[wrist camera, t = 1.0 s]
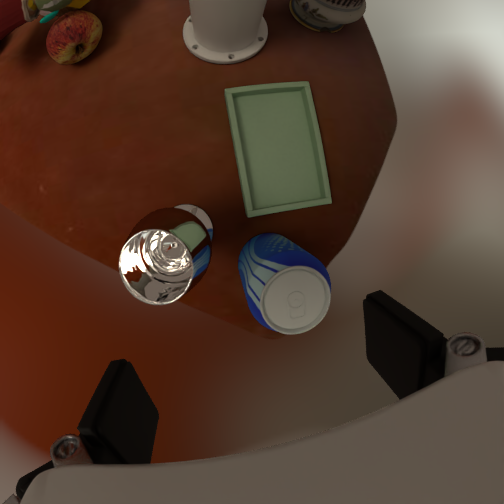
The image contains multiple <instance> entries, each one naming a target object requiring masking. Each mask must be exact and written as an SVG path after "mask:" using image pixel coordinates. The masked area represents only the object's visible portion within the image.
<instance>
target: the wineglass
mask: <svg viewBox="0 0 504 504" xmlns="http://www.w3.org/2000/svg"><path fill="white" fill-rule="evenodd" d="M212 238H213V225H212V222H211V219H210V218H209V216H208V215H207V213H206V212H205V211H204V210H202V209H201V208H199V207H197V206H195V205H190V204H181V205H177V206H175V207H169V208H162V209H157V210H155V211H153V212H151V213H149V214H148V215H146V216H145V217H144V218H142V219H141V220H140V221H139V222H138V223H137V224H136V225H135V227H134V228H133V229H132V231H131V232H130V234H129V236H128V238H127V239H126V241H125V243H124V246H123V248H122V250H121V253H120V257H119V273H120V276H121V279H122V282H123V284H124V286H125V287H126V288H127V290H128V291H129V292H130V293H131V294H132V295H133V296H134V297H136V298H137V299H139V300H140V301H143V302H145V303H147V304H152V305H164V304H169V303H172V302H174V301H176V300H177V299H179V298H181V297H182V296H183V295H185V294H186V293H188V292H189V291H190V290H191V289H193V288H194V287H195V286H196V285H197V284H198V283H199V282H200V281H201V279H202V278H203V276H204V275H205V273H206V271H207V269H208V267H209V264H210V262H211V257H212V243H211V241H212Z"/></svg>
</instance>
